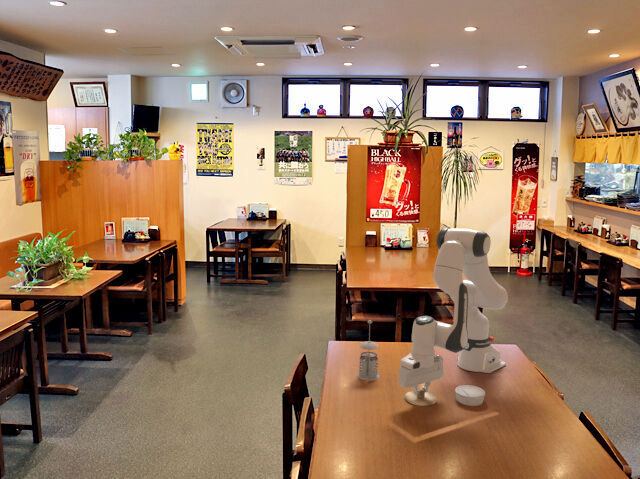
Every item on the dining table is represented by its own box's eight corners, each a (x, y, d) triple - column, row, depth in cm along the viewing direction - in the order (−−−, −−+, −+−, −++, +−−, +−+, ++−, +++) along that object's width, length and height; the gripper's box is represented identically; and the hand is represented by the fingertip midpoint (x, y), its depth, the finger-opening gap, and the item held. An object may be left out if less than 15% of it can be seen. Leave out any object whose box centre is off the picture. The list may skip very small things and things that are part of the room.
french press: (380, 372, 246) (382, 317, 242) (378, 383, 234) (380, 325, 230) (358, 370, 247) (359, 316, 243) (355, 381, 236) (356, 324, 232)
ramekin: (448, 403, 217) (449, 390, 216) (463, 394, 225) (464, 382, 224) (475, 413, 209) (476, 399, 208) (489, 403, 217) (490, 390, 217)
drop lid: (420, 389, 225) (421, 381, 225) (442, 401, 215) (443, 391, 215) (398, 396, 219) (398, 387, 218) (420, 408, 209) (420, 399, 208)
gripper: (436, 351, 222) (435, 384, 225) (396, 361, 212) (395, 395, 214) (448, 356, 217) (446, 390, 219) (407, 366, 206) (406, 402, 209)
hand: (420, 393), depth 217 cm, fingers closed on drop lid, 3 cm apart
